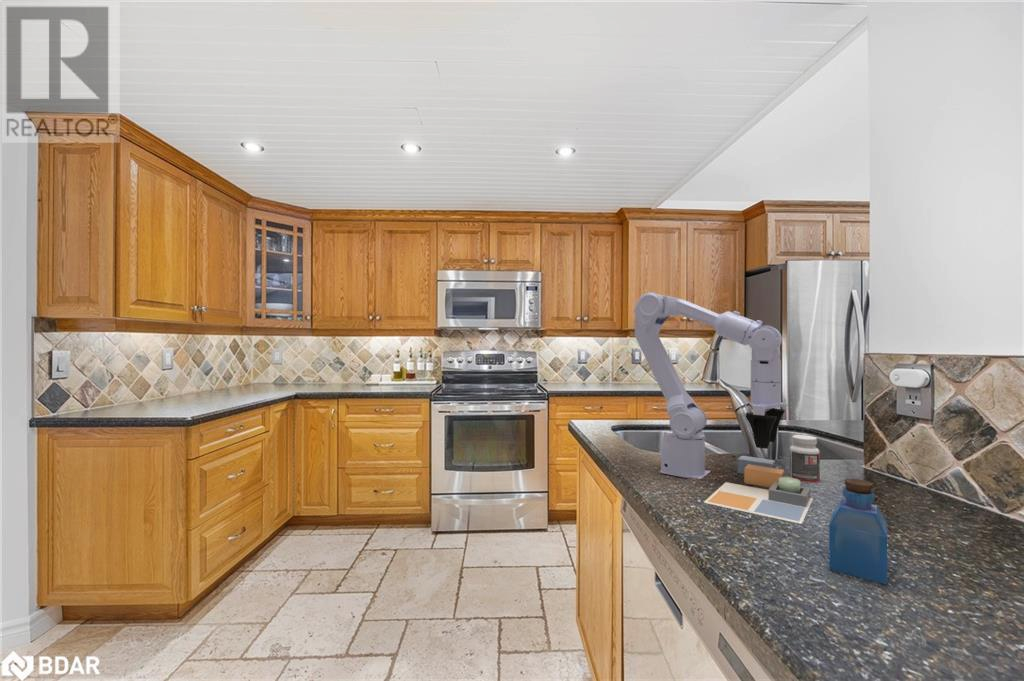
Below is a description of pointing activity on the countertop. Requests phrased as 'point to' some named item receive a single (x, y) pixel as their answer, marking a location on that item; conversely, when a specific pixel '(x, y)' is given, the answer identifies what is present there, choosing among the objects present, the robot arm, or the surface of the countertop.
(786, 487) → the button
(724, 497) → the sheet
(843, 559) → the perfume bottle
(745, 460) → the grey-capped blue block
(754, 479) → the orange marker
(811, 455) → the pill bottle
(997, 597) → the countertop surface
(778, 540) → the countertop surface
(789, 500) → the button housing
